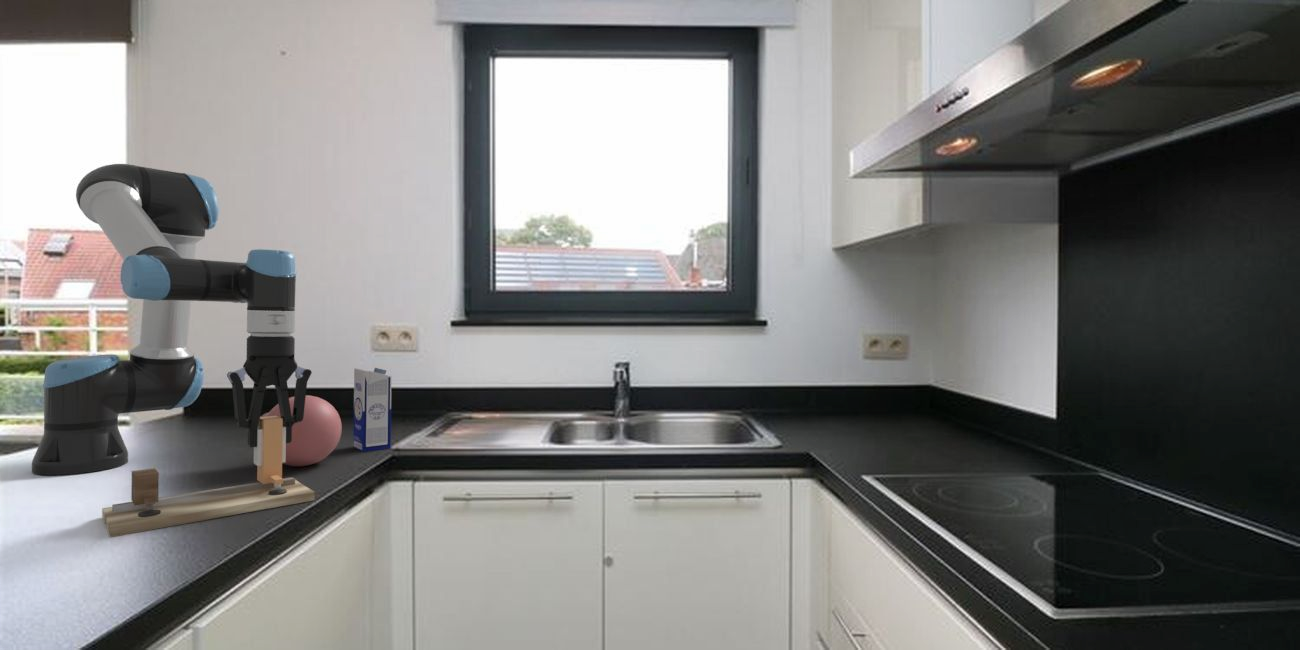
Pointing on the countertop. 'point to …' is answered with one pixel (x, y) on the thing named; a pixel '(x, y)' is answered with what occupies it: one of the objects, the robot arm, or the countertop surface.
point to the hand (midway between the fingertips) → (269, 462)
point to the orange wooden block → (271, 451)
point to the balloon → (312, 432)
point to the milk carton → (372, 410)
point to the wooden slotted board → (194, 503)
